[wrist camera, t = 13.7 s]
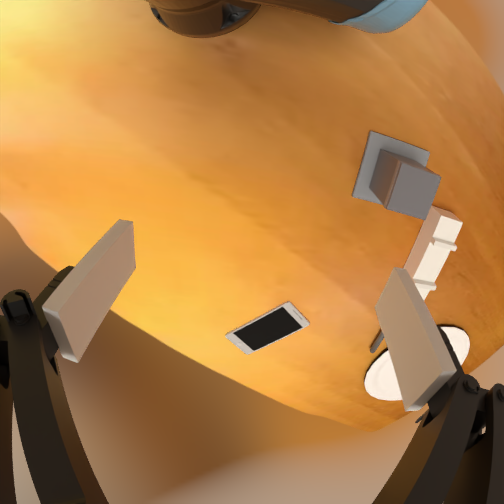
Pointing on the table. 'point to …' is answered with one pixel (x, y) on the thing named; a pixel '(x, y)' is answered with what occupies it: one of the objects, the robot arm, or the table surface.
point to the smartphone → (268, 328)
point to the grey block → (404, 184)
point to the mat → (370, 159)
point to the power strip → (430, 252)
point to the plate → (383, 374)
